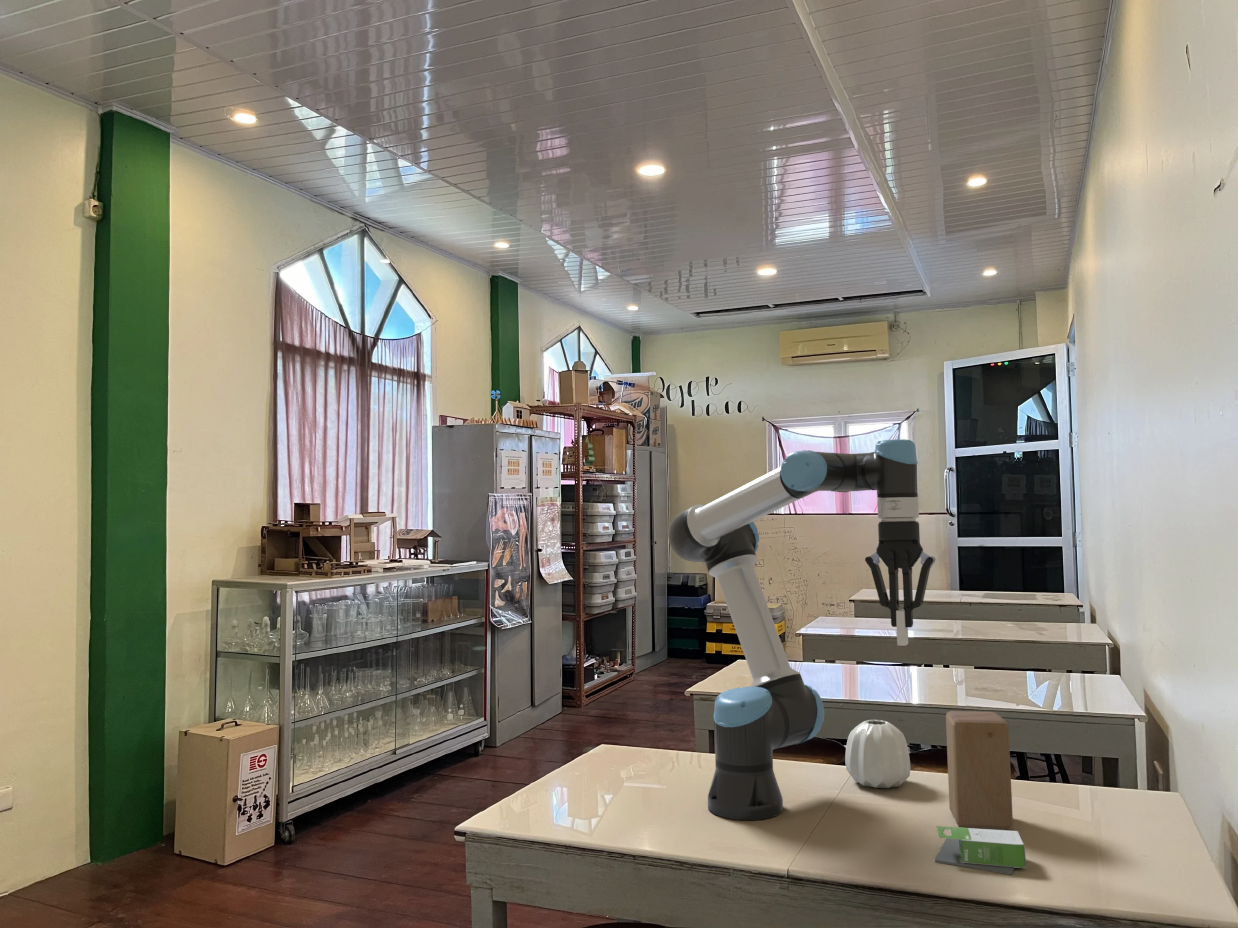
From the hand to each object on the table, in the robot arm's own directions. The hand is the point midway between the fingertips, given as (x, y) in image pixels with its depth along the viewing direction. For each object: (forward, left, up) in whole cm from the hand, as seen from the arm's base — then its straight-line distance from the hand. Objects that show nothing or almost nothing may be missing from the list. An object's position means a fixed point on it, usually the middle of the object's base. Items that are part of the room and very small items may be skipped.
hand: (902, 644), depth 169 cm
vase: (-12, +27, -35) cm, 46 cm away
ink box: (+20, -8, -32) cm, 39 cm away
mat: (+13, -8, -34) cm, 38 cm away
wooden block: (+11, +11, -35) cm, 38 cm away
